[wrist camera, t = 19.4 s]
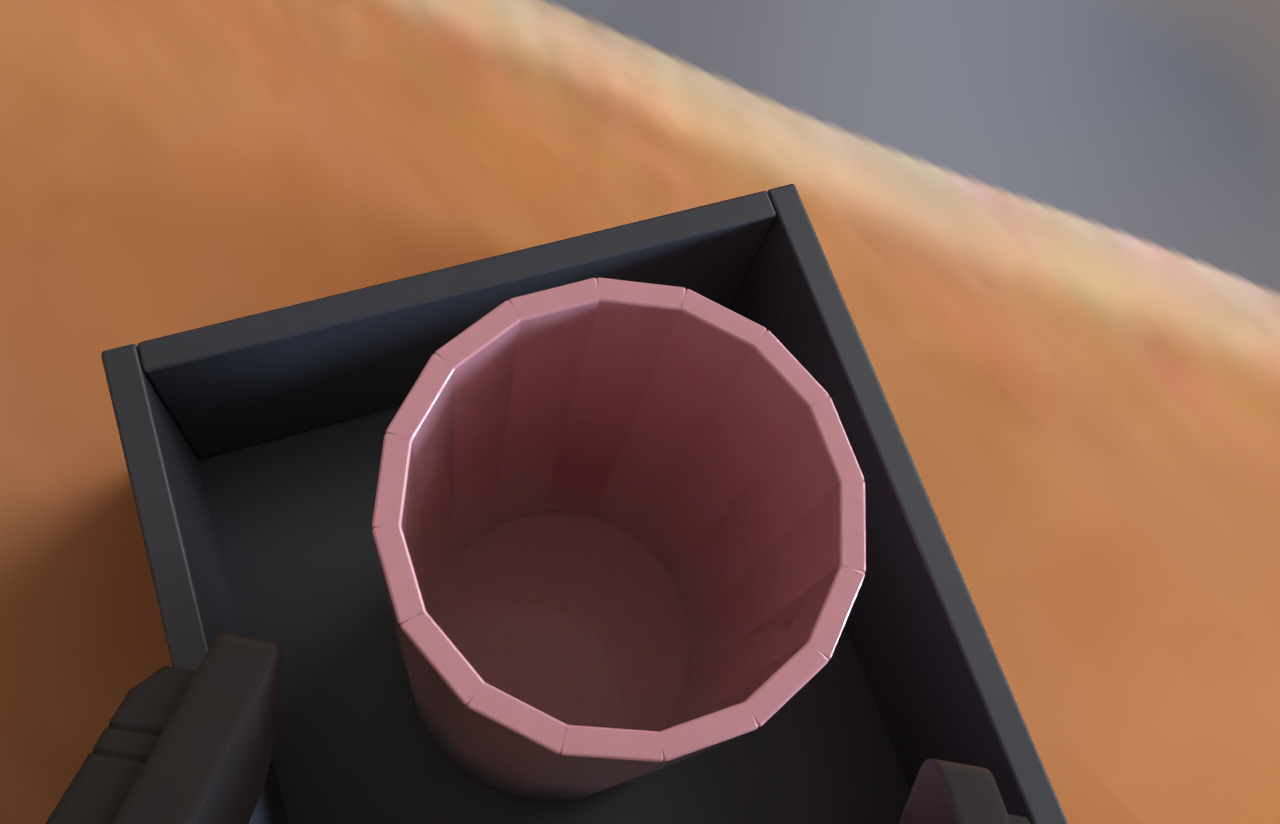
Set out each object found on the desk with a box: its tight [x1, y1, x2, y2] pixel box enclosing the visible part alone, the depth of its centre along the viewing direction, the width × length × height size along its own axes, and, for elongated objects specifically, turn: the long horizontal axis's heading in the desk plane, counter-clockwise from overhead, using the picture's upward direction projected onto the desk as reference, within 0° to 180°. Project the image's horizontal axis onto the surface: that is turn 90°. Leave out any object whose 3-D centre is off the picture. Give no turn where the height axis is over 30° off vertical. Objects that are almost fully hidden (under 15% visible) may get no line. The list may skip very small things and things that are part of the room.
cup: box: [372, 278, 866, 801], centre depth 20 cm, size 6×6×11 cm
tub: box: [101, 184, 1068, 824], centre depth 23 cm, size 13×13×6 cm
